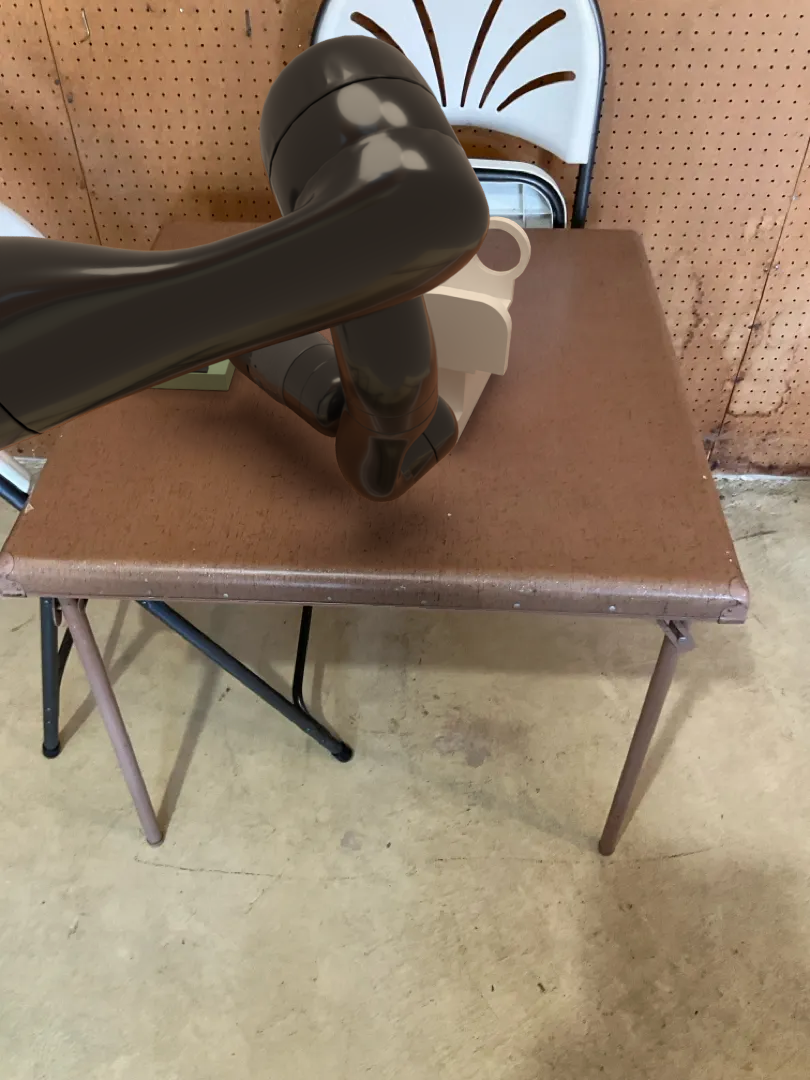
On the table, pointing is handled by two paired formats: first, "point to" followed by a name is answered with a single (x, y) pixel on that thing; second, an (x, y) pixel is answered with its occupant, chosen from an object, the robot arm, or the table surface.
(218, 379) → the scale
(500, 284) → the tape dispenser
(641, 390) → the table surface
